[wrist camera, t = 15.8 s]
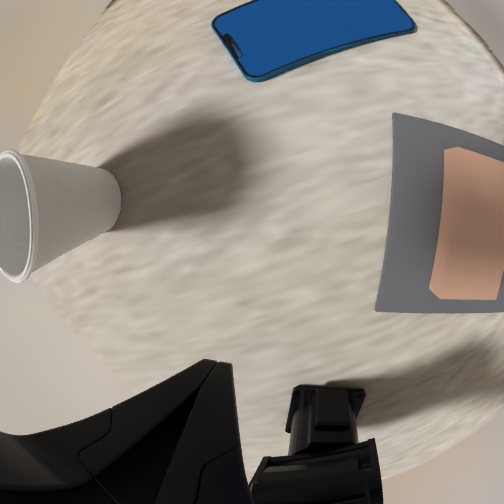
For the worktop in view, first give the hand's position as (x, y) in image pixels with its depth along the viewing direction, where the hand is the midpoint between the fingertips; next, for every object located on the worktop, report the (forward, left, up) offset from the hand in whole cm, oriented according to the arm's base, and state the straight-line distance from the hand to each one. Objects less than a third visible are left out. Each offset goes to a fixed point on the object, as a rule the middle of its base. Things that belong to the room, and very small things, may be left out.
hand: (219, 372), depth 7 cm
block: (+4, -12, -10) cm, 16 cm away
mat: (+4, -15, -12) cm, 20 cm away
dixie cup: (+4, +15, -12) cm, 20 cm away
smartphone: (+19, -3, -13) cm, 23 cm away
